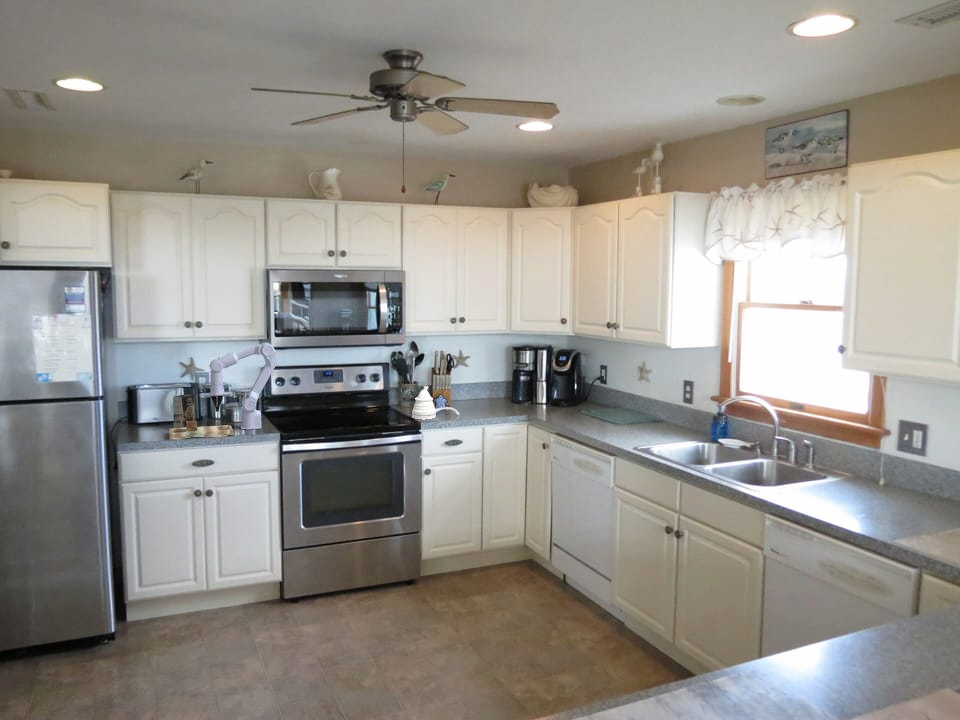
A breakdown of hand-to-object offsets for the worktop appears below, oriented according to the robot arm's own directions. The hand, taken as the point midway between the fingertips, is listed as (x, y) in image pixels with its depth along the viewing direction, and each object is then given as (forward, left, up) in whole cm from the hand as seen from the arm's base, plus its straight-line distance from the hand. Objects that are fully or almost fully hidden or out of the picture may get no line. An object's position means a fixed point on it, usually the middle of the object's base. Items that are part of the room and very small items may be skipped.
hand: (217, 411), depth 364 cm
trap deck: (+8, +9, -9) cm, 15 cm away
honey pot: (-106, +5, -10) cm, 107 cm away
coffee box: (+15, -12, -10) cm, 21 cm away
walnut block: (+12, +9, -7) cm, 17 cm away
